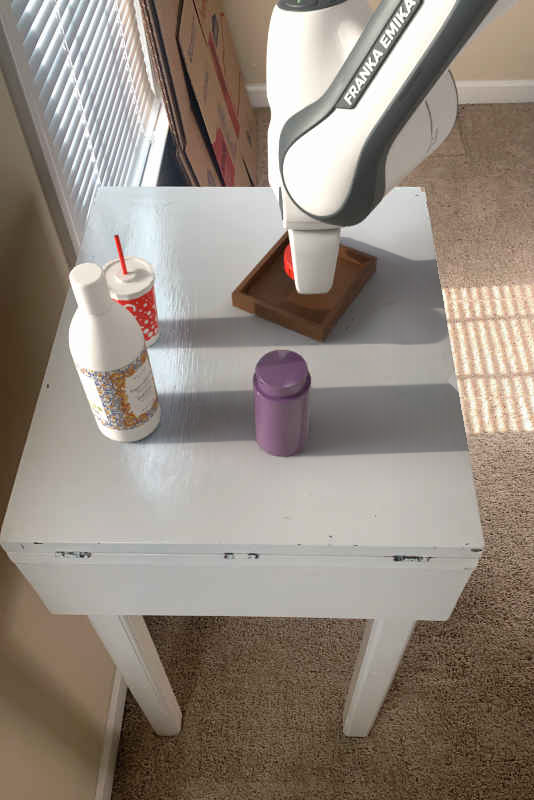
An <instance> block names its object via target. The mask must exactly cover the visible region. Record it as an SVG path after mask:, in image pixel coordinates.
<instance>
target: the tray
mask: <svg viewBox="0 0 534 800" xmlns="http://www.w3.org/2000/svg"><path fill="white" fill-rule="evenodd" d="M289 243H290V239H289V233H288V229H286V231H285V232H284V233H283V234H282V235H281V237H280V238H279V239H278V240H277V241H276V242H275V243H274V244H273V245H272V247H271V248H270V249H269V250H268V252H267V253H266V254H265V255H264V256H263V257H262V258H261V259H260V261H259V262H258V263H257V264H256V265H255V266H254V267H253V268H252V269H251V270H250V272H249V273H248V274H247V275H246V276H245V277H244V278H243V279H242V281H241V282H240V283H239V285H238V286H236V288H234V290H233V291H232V292H231V304H232V305H231V306H232V307H235V308H236V309H240V310H242V311H244V312H247V313H249V314H252V315H254V316H256V317H258V318H262V319H264V320H266V321H268V322H271V323H273V324H275V325H278V326H281V327H283V328H286V329H289V330H290V331H293V332H295V333H297V334H299V335H303V336H304V337H307V338H310V339H312V340H314V341H316V342H319V343H320V344H321V343H323V342H324V341H325V339H326V338H327V337H328V335H330V333H331V332H332V330H333V328H334V327H335V326H336V325H337V323H338V322H339V321H340V319H341V318H342V316H343V315H344V313H346V311H347V310H348V308H350V306H351V304H352V303H353V301H354V300H355V299H356V298H357V296H358V295H359V293H360V292H361V291H362V290H363V288H364V287H365V286H366V284H367V283H368V282H369V280H370V279H371V277H372V276H373V275H374V273H375V272H376V270H377V265H378V257H377V256H374V255H372V254H369V253H366V252H364V251H361V250H358V249H355V248H352V247H351V246H348V245H345V244H342V243H339V250H338V256H337V262H336V268H335V274H334V279H333V284H332V287H331V289H330V290H329V292H327V293H324V294H308V295H304V294H300V293H298V291H297V289H296V285H295V280H293V279H292V278H291V277H290V276H288V274H287V273H286V271H285V270H284V254H285V249H286V247H287V246H288V245H289Z"/></svg>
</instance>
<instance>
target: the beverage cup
mask: <svg viewBox="0 0 534 800" xmlns="http://www.w3.org/2000/svg"><path fill="white" fill-rule="evenodd" d="M113 236H114V241H115V246H116V249H117V253H118V254H117V255H118V257H117V258H113V259H111V260H110V261H108V262H106V263H104V265H102V266H101V267H102V269H103V271H104V273H105V277H106V280H107V284H108V288H109V292H110V295H111V299H113V300H114V301H116V302H118V303H119V304H121V305H122V306H124V307H125V308H126V309H127V310H128V311H129V312H130V313H131V314H132V315H133V316H134V317H135V319H136V320H137V322H138V324H139V325H140V328H141V330H142V332H143V335H144V339H145V343H146V347H147V348H149V347H151V346H153V345H154V344H155V343H157V341H158V340H159V338H160V333H161V331H160V323H159V314H158V307H157V299H156V298H157V297H156V291H155V282H156V276H155V275H156V273H155V270H154V266H153V265H152V264H151V263H150V262H149V261H148V260H146V259H144V258H141V257H138V256H134V255H133V256H128V255H127V256H126V255H125V256H124V252H123V248H122V243H121V240H120V239H121V238H120V235H119V234H114V235H113Z"/></svg>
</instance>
